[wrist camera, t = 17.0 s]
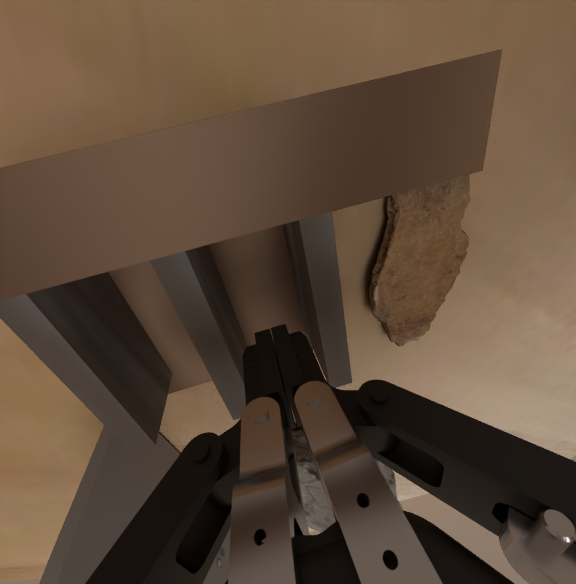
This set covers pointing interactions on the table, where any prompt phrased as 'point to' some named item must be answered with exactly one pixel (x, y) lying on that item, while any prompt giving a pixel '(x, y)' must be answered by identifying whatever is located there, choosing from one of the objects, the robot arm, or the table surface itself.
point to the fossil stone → (312, 487)
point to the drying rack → (218, 235)
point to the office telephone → (113, 509)
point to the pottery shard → (419, 257)
